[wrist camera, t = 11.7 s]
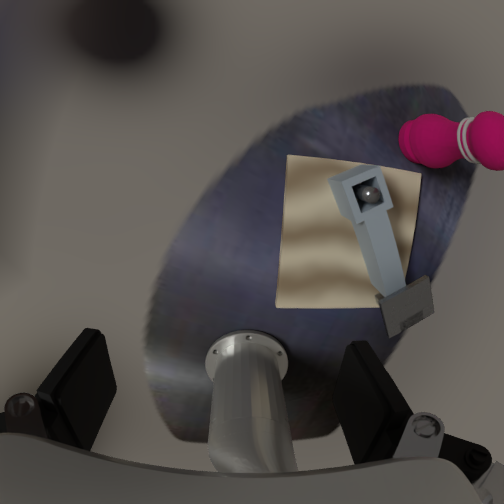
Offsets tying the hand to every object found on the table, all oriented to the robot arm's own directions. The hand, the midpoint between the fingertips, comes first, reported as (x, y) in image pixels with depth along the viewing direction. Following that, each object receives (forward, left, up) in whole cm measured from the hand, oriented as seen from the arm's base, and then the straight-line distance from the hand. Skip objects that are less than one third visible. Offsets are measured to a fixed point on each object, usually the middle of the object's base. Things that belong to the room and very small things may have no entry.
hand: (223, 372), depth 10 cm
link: (0, -17, -27) cm, 32 cm away
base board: (-1, -15, -28) cm, 32 cm away
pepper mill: (+13, -24, -29) cm, 40 cm away
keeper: (-7, -21, -28) cm, 36 cm away
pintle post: (+5, -14, -28) cm, 32 cm away
